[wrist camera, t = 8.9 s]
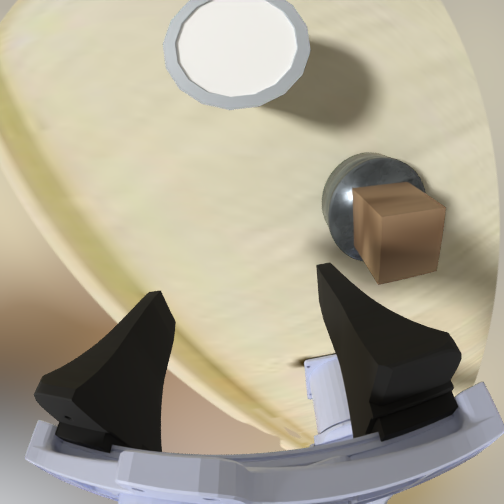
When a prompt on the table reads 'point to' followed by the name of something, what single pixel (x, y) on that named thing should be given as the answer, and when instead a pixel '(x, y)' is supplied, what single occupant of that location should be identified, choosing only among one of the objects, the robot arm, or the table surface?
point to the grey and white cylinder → (236, 51)
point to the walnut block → (397, 230)
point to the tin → (353, 176)
